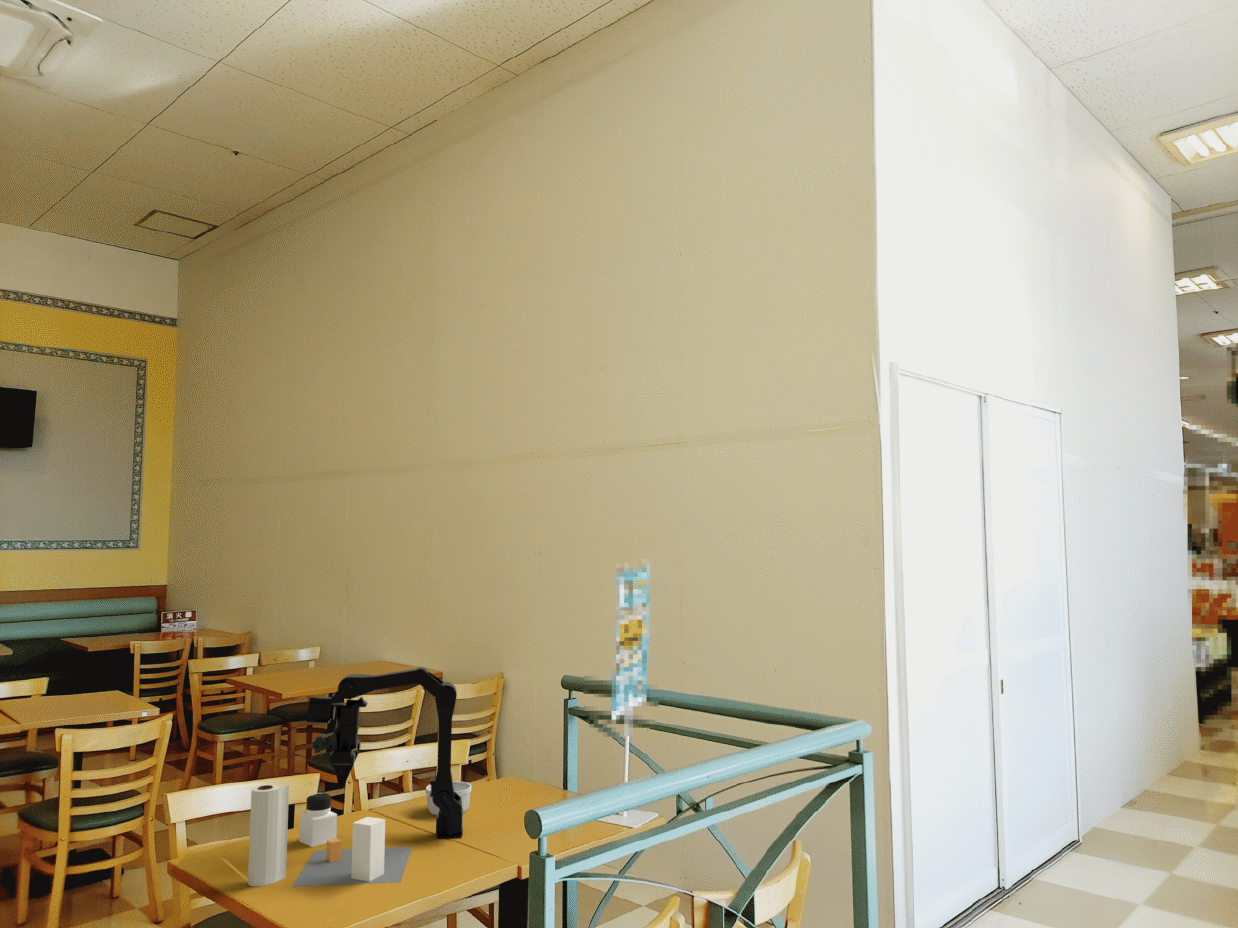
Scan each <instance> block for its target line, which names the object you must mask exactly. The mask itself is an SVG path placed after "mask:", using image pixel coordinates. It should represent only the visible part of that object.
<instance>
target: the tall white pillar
mask: <svg viewBox="0 0 1238 928" xmlns="http://www.w3.org/2000/svg"><path fill="white" fill-rule="evenodd" d="M351 839H352V840H351V841H352V842H351V844H352V846H351V849H352V873H351V878H353V879H358V880H364V881H369V882H370V881H372V880H373V879H375V878H377V877H379V876H381V875H383V874H384V853H385V848H386V846H385V845H386V844H385V843H386V818H385V819H384V818H379V817H373V816H366V817H364V818H361V819H359V820H356V821H354V822H352V838H351Z"/></svg>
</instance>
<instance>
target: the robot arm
mask: <svg viewBox="0 0 1238 928" xmlns="http://www.w3.org/2000/svg"><path fill="white" fill-rule="evenodd" d="M416 684H418V685H420V686H421V687H422V688H423V689H425V691H426V692H428V693H429V694H430V695H431V696H433V697H434V699H435V705H436V713H437V717H438V718H437V719H438V726H437V727H438V729H437V730H438V732H437V766H436V767H437V768H436V774H435V775H430V780H429V781H430V782H429V783H430V785H431V790H430V797H432V796H433V797H432V799H433V803H434V804H435V805H436V806H437V807H439V808H440V809H439V813H438V815H436V818H435V822H436V823H435V834H436V838H437V839H445V838H444V837H446V839H447V838H448V839H450V838H451V837H454V838H463V834H464V833H463V832H464V827H463V825H464V824H463V820H464V818H463V816H464V813H463V808H462V798H461V797H460V796H459V795H458V794H457V793H456V792H455V791H454V785H453V781H454V779H453V772H452V769H451V768H452V736H453V735H452V732H453V730H452V729H453V728H452V727H453V715H454V712H455V711H454V710H455V707H456V703H457V702H456V701H457V698H458V697H457V696H458V694H457V688H456V686H455V685H454V684H453V683H452V682H450V681H444V680H442V679H441V678H440V677H438V676H437V675H435V674H433V673H432V672H430V671H429V670H428V669H427V668H426V667H424V666H419V667H417V668H411V669H406V670H399V671H392V672H386V673H379V674H363V673H351V674H347V675H345V676H344V677H343V678H342V679H341V681H339V683H338V686H337V691H336V692H334V693H333V694H332V695H331V696H330V697H328V696H327V697H326V696H325V697H323V696H321V697H320V696H313V695H311V696H310V697H309V702H308V707H307V711H306V718H305V719H306V723H307V724H330V722H331V721H332V720H333V721H334V720H335V717H336V723H335V728H334V729H333V732H329V733H326V734H321V735H319V736H315V737H314V738H313V739H312V740H311V744H312V747H311V748H312V749H313V752H314V753H315V754H318V753H321V751H324V750H329V749H330V748H331V750H332V751H330V753H329V755H328V765H329V766H330V767H332V768H333V769H334V770H335V775H336V782H337V788H338V790H343V789H344V787H345V785H346V782H347V780H348V778H349V776H350V773H351V771H352V770H353V767H354V764H355V762H356V760H357V758H358V755H359V753H360V750H361V745H362V744H361V743H362V740H360V739H359V737H358V735H359V730H360V726H359V723H360V722H359V721H360V720H359V719H360V709H361V708H366V707H367V705H368V702H367V701H366V700H365V699H364V697H363V696H364V695H366V694H369V693H372V692H374V691H377V690H385V689H390V688H399V687H402V686H409V685H416ZM358 697H359V698H358ZM355 698H358V699H355ZM343 700H346V702H342V701H343ZM336 708H337V709H336ZM335 715H336V716H335Z"/></svg>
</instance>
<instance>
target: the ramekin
mask: <svg viewBox="0 0 1238 928" xmlns="http://www.w3.org/2000/svg"><path fill="white" fill-rule="evenodd" d="M453 785H454V791H455V792H456V793H457V794H458V795H459V796H460V797H461V798H462V808H463V812H464V813H465V812H466V811H467V810H468V809H469V807H470V801H471V800H470V799H471V793H472V788H473V787H472V784H471V783H469V782H466V781H455V780H453ZM430 790H431V784H428V785H427V786H426V787H425V794H426V804H427V810H428V811H429V813H430V814H431V815H434V816H437V815H438V813H439V809H440V808H439V807H437V806H436V805H435V804H434V803H433V799H432V797H433V796H432V797H430Z"/></svg>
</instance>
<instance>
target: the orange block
mask: <svg viewBox="0 0 1238 928" xmlns="http://www.w3.org/2000/svg"><path fill="white" fill-rule="evenodd" d="M341 849H342V840H341V839H339V838H338V837H337V838H335V839H330V840H327V843H326V850H327V853H326V860H327V861H329V862H330V863H331V862H335V861H339V860H341Z"/></svg>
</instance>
